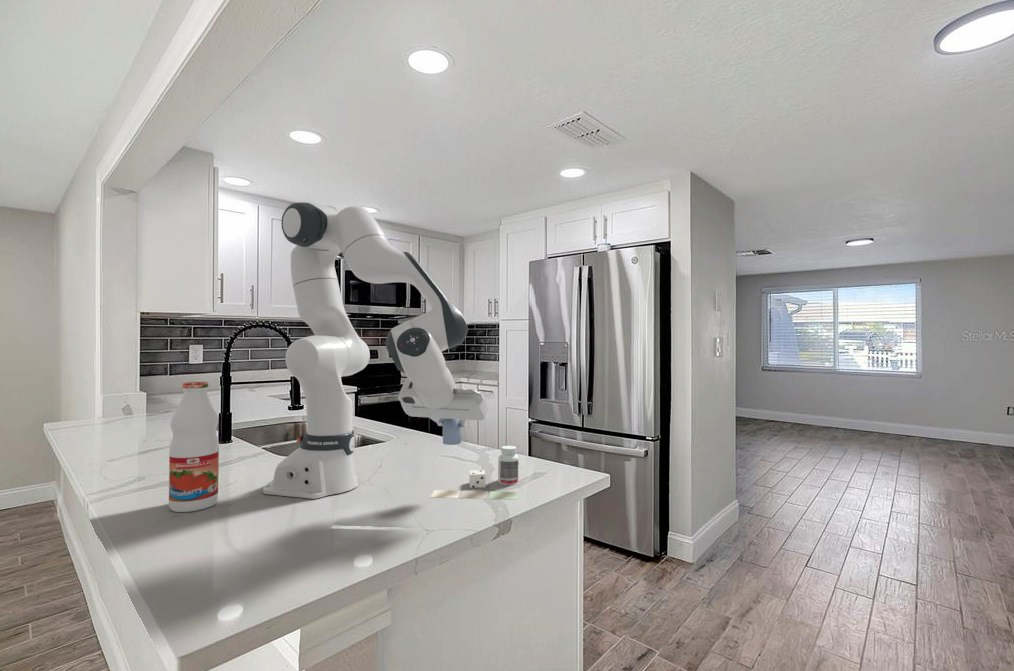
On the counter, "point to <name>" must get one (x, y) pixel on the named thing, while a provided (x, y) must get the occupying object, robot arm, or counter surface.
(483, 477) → the die
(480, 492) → the track
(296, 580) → the counter surface
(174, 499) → the fruit juice
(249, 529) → the counter surface
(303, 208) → the robot arm
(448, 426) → the pawn
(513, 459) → the pill bottle
